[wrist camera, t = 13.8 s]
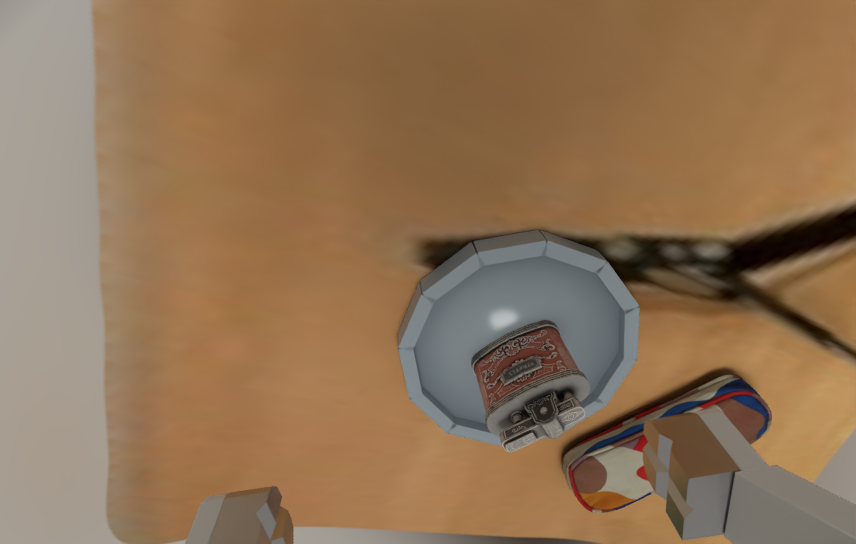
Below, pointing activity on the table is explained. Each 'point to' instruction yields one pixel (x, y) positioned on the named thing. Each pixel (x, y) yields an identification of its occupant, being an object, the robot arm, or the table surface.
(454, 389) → the dish
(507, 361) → the lighter
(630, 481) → the pencil case
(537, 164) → the table surface
